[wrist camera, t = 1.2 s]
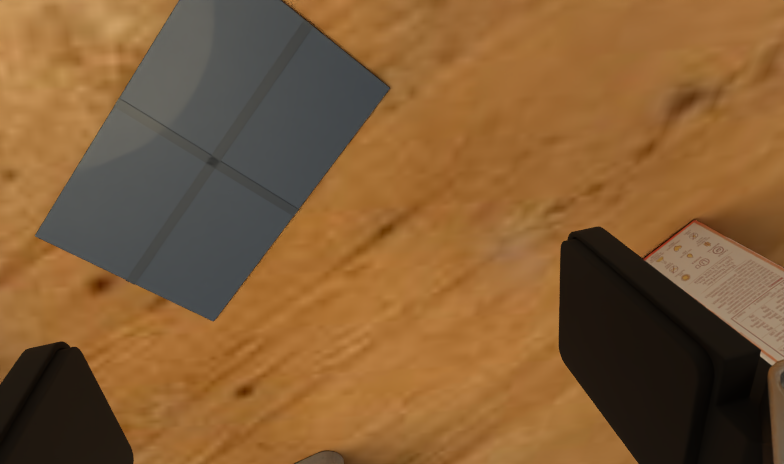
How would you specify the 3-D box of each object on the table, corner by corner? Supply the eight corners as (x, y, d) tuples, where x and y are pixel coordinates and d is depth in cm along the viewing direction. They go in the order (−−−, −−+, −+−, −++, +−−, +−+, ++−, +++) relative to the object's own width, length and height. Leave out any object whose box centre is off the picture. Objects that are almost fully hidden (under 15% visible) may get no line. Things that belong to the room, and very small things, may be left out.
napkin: (213, -55, 27) (212, -55, 27) (389, 87, 32) (390, 88, 32) (36, 234, 32) (33, 236, 31) (214, 319, 37) (213, 322, 36)
